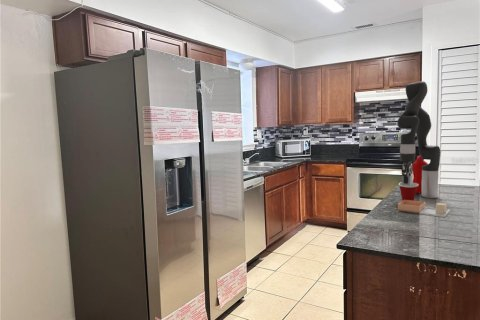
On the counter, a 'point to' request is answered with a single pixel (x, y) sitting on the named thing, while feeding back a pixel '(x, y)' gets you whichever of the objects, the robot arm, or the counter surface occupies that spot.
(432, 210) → the tray
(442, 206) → the beige wooden cube
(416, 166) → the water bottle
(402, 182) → the grey stacked cube
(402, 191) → the plastic cup
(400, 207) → the dish
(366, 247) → the counter surface
